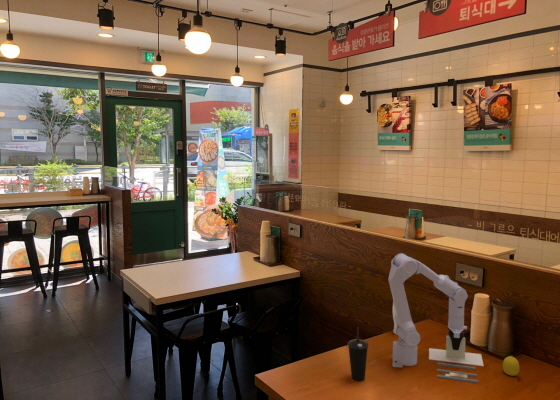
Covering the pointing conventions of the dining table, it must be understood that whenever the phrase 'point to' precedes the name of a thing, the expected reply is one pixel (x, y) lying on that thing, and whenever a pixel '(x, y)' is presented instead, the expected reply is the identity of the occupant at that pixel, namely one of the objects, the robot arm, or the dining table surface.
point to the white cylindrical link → (394, 319)
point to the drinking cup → (358, 357)
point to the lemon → (511, 366)
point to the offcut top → (458, 375)
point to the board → (469, 358)
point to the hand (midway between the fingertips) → (455, 347)
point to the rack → (456, 372)
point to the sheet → (455, 353)
